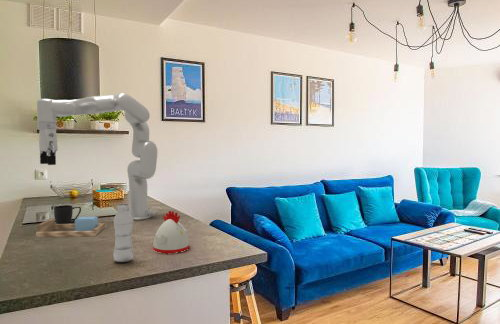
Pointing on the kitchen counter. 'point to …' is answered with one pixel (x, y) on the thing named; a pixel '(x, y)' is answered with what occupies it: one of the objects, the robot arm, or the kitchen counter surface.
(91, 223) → the light blue block
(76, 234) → the tray
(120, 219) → the plastic bottle
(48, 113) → the robot arm
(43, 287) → the kitchen counter surface
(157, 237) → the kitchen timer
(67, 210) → the mug
